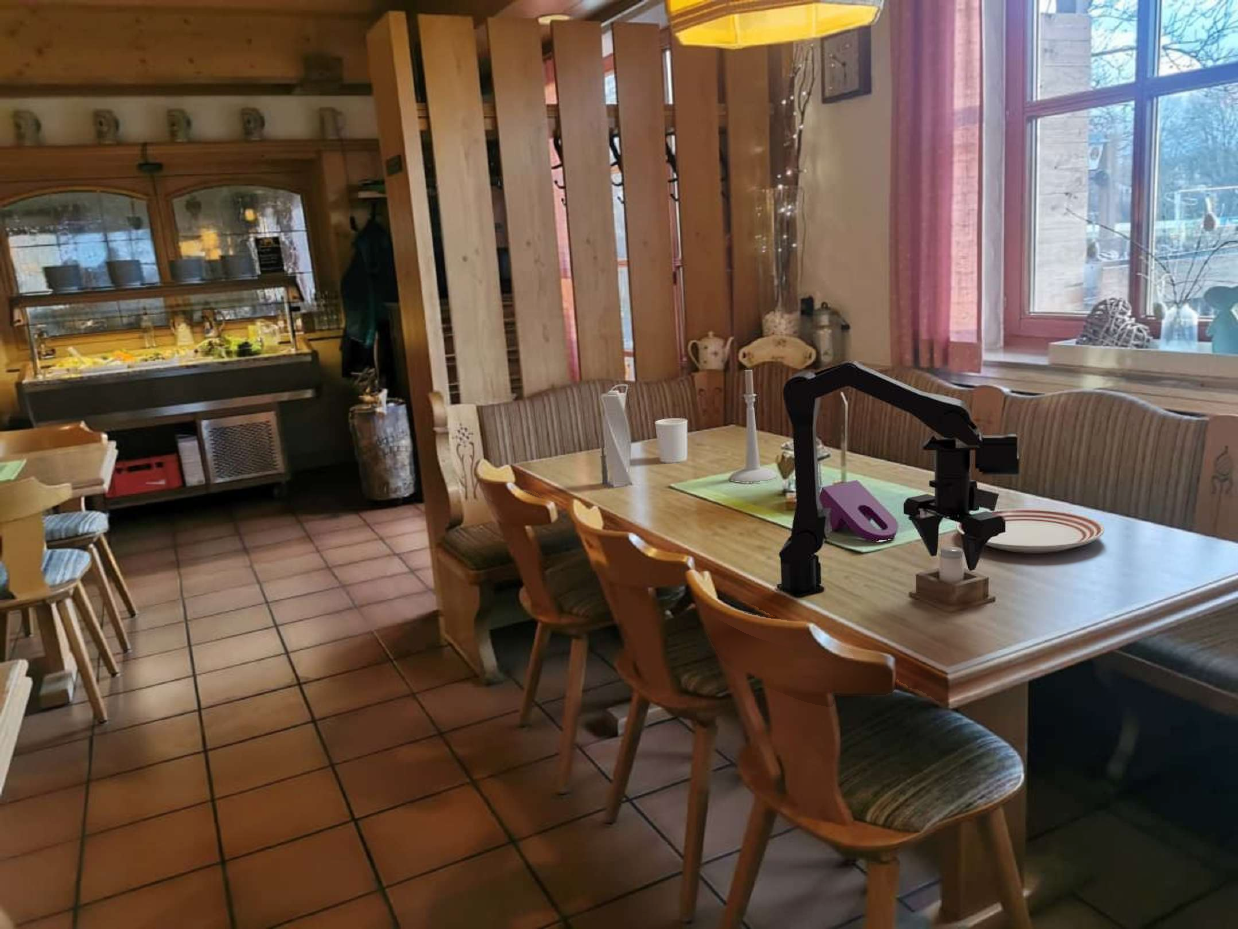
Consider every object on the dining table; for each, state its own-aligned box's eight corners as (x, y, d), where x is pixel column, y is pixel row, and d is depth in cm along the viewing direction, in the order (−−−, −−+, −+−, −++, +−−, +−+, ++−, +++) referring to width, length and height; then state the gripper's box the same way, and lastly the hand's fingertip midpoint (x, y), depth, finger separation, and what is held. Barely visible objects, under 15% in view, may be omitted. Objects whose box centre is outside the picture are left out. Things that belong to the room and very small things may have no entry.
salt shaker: (950, 599, 161) (950, 555, 159) (934, 592, 164) (934, 549, 163) (968, 595, 162) (969, 550, 161) (952, 588, 166) (952, 545, 164)
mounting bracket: (895, 560, 201) (847, 509, 214) (907, 530, 196) (857, 479, 209) (860, 569, 198) (813, 516, 211) (870, 538, 193) (822, 486, 206)
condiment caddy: (949, 612, 157) (949, 590, 156) (909, 594, 166) (909, 573, 165) (995, 600, 161) (995, 578, 160) (953, 583, 170) (953, 562, 169)
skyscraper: (629, 480, 266) (622, 382, 260) (639, 486, 259) (631, 385, 253) (601, 484, 264) (593, 385, 258) (610, 490, 256) (602, 388, 250)
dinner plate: (927, 536, 198) (927, 521, 197) (1025, 513, 208) (1025, 498, 207) (1030, 572, 173) (1030, 555, 172) (1136, 544, 183) (1137, 527, 182)
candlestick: (787, 476, 255) (783, 366, 248) (751, 486, 248) (746, 373, 242) (755, 470, 265) (750, 364, 259) (720, 478, 259) (714, 370, 252)
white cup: (690, 462, 281) (688, 422, 278) (657, 464, 281) (655, 425, 279) (688, 455, 291) (686, 417, 288) (657, 457, 291) (654, 419, 288)
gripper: (1032, 477, 153) (1030, 568, 157) (950, 458, 170) (950, 540, 173) (979, 488, 149) (978, 582, 152) (900, 467, 166) (901, 552, 169)
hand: (952, 562), depth 162 cm, fingers open, 9 cm apart
